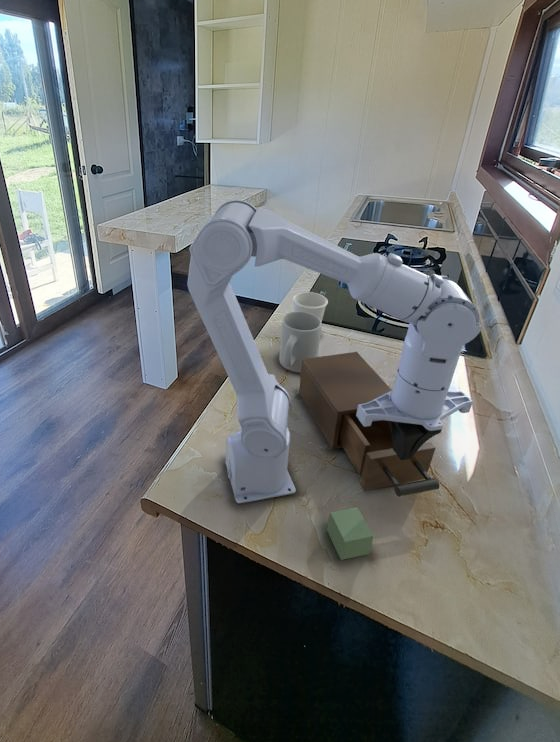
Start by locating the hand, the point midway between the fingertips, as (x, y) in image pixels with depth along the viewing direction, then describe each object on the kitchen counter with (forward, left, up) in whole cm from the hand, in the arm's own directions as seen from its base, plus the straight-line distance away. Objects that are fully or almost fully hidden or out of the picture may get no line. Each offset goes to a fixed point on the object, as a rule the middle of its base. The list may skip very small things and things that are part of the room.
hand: (401, 453), depth 53 cm
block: (-9, -4, -10) cm, 14 cm away
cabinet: (+2, +18, -10) cm, 21 cm away
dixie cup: (+7, +46, -10) cm, 47 cm away
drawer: (+2, +6, -9) cm, 11 cm away
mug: (-1, +34, -10) cm, 35 cm away
